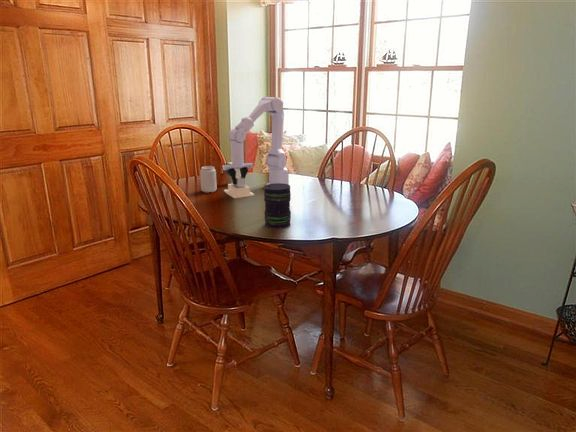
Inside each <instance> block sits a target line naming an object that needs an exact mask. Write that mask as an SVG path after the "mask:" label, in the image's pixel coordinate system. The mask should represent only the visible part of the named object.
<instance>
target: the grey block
mask: <svg viewBox="0 0 576 432" xmlns="http://www.w3.org/2000/svg"><path fill="white" fill-rule="evenodd" d="M231 184H232V185H233V186H235V187H236V188H244V187H245V185H246V177H245V178H244V177H242V176H241V175H236V185H234V184H233V181H232V182H231Z"/></svg>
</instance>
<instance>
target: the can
mask: <svg viewBox="0 0 576 432" xmlns="http://www.w3.org/2000/svg"><path fill="white" fill-rule="evenodd" d="M199 176H200V177H199V179H200V191H202V192H203V193H207V194H208V193H210V192H211V193H215V192H216V190H217V189H218V188H217V184H218V183H217V170H216V169H215V166H212V165H206V166H202V167H201V169H200V170H199Z"/></svg>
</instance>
